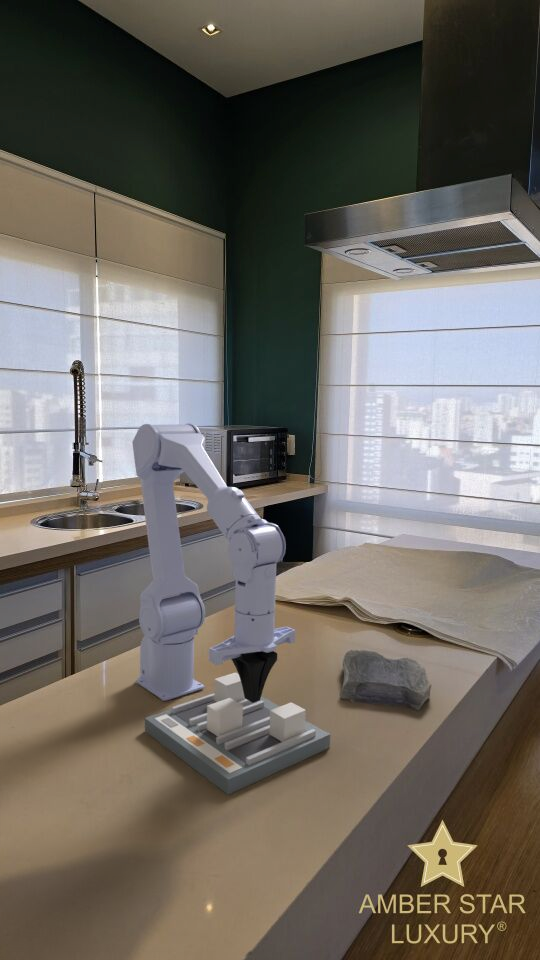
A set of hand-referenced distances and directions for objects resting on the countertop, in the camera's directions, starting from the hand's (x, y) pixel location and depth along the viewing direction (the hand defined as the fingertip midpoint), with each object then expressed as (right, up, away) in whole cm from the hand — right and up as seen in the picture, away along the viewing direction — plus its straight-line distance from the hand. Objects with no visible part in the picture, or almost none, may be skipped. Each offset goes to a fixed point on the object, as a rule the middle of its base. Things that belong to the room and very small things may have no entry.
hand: (252, 699), depth 97 cm
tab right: (+5, -4, -4) cm, 7 cm away
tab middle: (-4, -3, -3) cm, 6 cm away
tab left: (-3, -2, +6) cm, 7 cm away
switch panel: (-2, -5, -1) cm, 6 cm away
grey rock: (+22, -4, +18) cm, 29 cm away
